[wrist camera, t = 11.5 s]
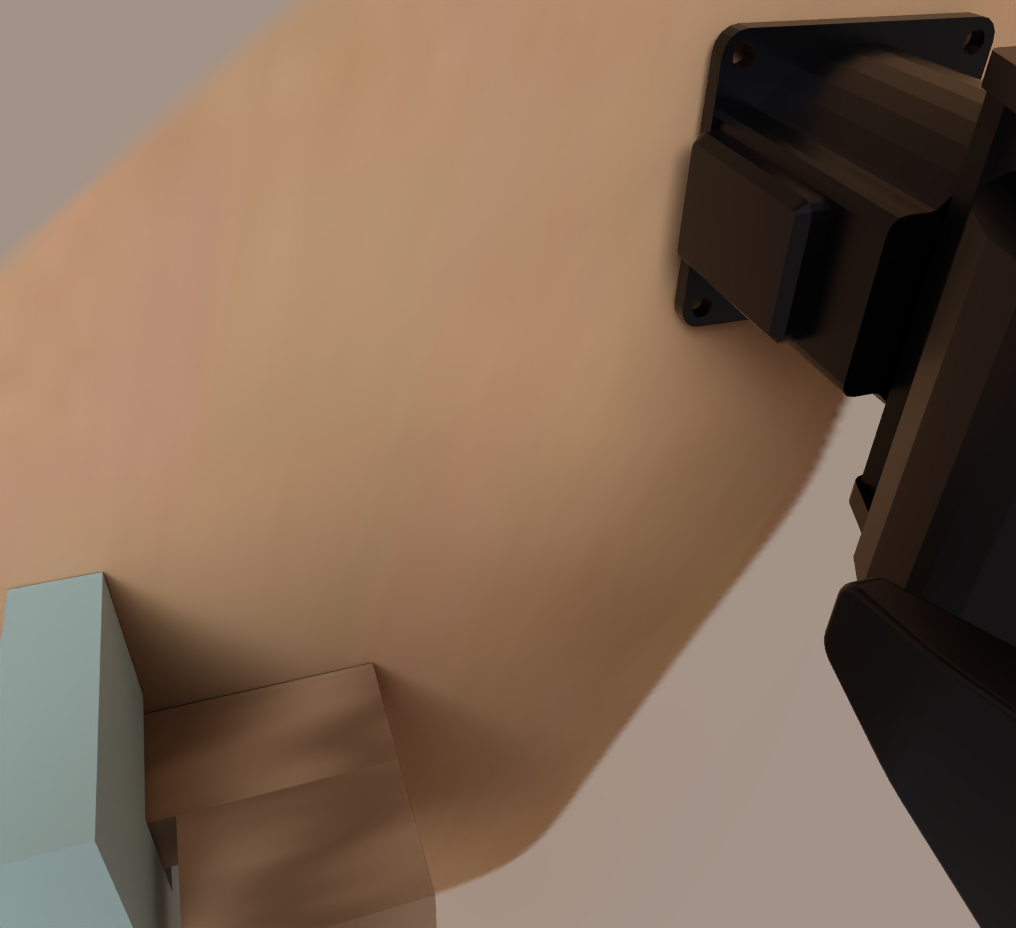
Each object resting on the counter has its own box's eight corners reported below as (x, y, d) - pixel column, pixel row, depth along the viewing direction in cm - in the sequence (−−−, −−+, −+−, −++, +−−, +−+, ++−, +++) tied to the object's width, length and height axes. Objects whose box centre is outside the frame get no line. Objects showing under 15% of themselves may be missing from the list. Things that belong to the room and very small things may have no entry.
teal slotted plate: (195, 855, 29) (211, 1105, 23) (127, 873, 28) (127, 1133, 23) (102, 571, 21) (94, 841, 16) (7, 589, 21) (-33, 874, 16)
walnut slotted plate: (372, 662, 26) (435, 895, 21) (376, 708, 27) (436, 938, 22) (-203, 792, 22) (-305, 1114, 17) (-169, 838, 24) (-254, 1152, 18)
